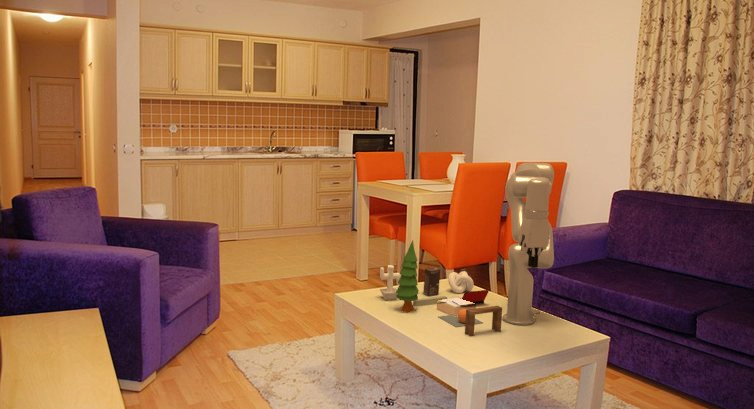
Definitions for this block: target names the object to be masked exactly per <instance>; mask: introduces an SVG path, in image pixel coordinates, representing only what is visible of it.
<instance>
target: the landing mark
mask: <svg viewBox="0 0 754 409" xmlns="http://www.w3.org/2000/svg"><path fill="white" fill-rule="evenodd" d="M451 315H452V314H448V315H440V316H437V318H439V319H440V320H442V321H444V322H445V323H448V324H449V325H450V326H452V327H455V328H460V327H465V323H462V322H461V321H460V320H459V319H458V317H457V316H456V317H454V316H451ZM481 324H484V322H483V321H481V320H480V319H477V318H475V325H481Z"/></svg>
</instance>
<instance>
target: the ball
mask: <svg viewBox="0 0 754 409" xmlns="http://www.w3.org/2000/svg"><path fill="white" fill-rule="evenodd" d="M466 310H468V309H467V308H462V309H460V310H459V311H458V313H457V314H458V319H459V320H460V321H461V322H462V323H465V321H466Z"/></svg>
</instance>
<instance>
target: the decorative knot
mask: <svg viewBox="0 0 754 409" xmlns="http://www.w3.org/2000/svg"><path fill="white" fill-rule="evenodd" d="M447 282H448V285H449V288H450V289H451V291H453V293H455V294H462V293H463V292H472V291H473V288H474V287H475V286H474V280H473V279H472V277H471V276H470V275H468V272H467V271H465V270H464V271H460V272H459V273H458V272H455V271H453V272H450V273H449V274H448V281H447Z"/></svg>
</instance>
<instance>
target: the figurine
mask: <svg viewBox="0 0 754 409" xmlns="http://www.w3.org/2000/svg"><path fill="white" fill-rule="evenodd" d="M394 270H395V266H394V265H392V264H388V265H387V269H386V272H387V273H385V268H384V267H383V266H382V267H381V266H380V268H379V278H380V280H382V281H383V280H384V281H386V288H379V291H380V293H381V295H382V298H383V299H384V300H385V301H396V300H397V299H398V298H397V295H398V293H396V291H397V289H398V288H395V287H394V280H396V285H397V286H399V285H400V284H398V281H399V279H400V277H401V274H400V272H394Z"/></svg>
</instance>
